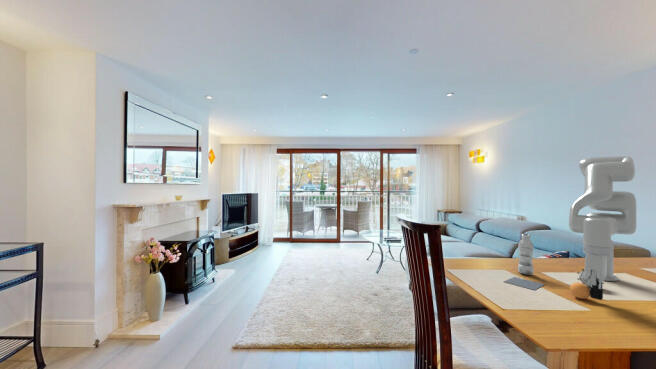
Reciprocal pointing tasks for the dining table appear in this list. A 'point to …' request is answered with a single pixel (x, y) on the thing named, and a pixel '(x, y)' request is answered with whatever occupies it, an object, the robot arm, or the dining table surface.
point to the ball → (580, 290)
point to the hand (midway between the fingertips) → (596, 298)
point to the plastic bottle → (525, 255)
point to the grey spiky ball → (584, 281)
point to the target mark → (524, 283)
